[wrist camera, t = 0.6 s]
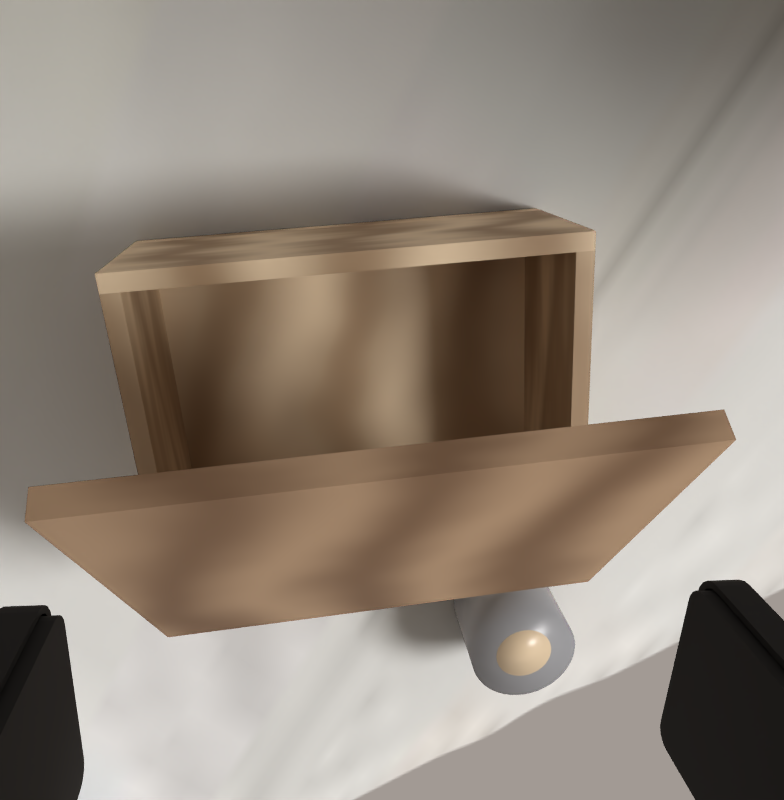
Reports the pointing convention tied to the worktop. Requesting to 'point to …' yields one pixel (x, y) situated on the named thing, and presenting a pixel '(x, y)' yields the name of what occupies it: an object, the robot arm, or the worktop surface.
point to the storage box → (350, 336)
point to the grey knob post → (516, 639)
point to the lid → (375, 521)
